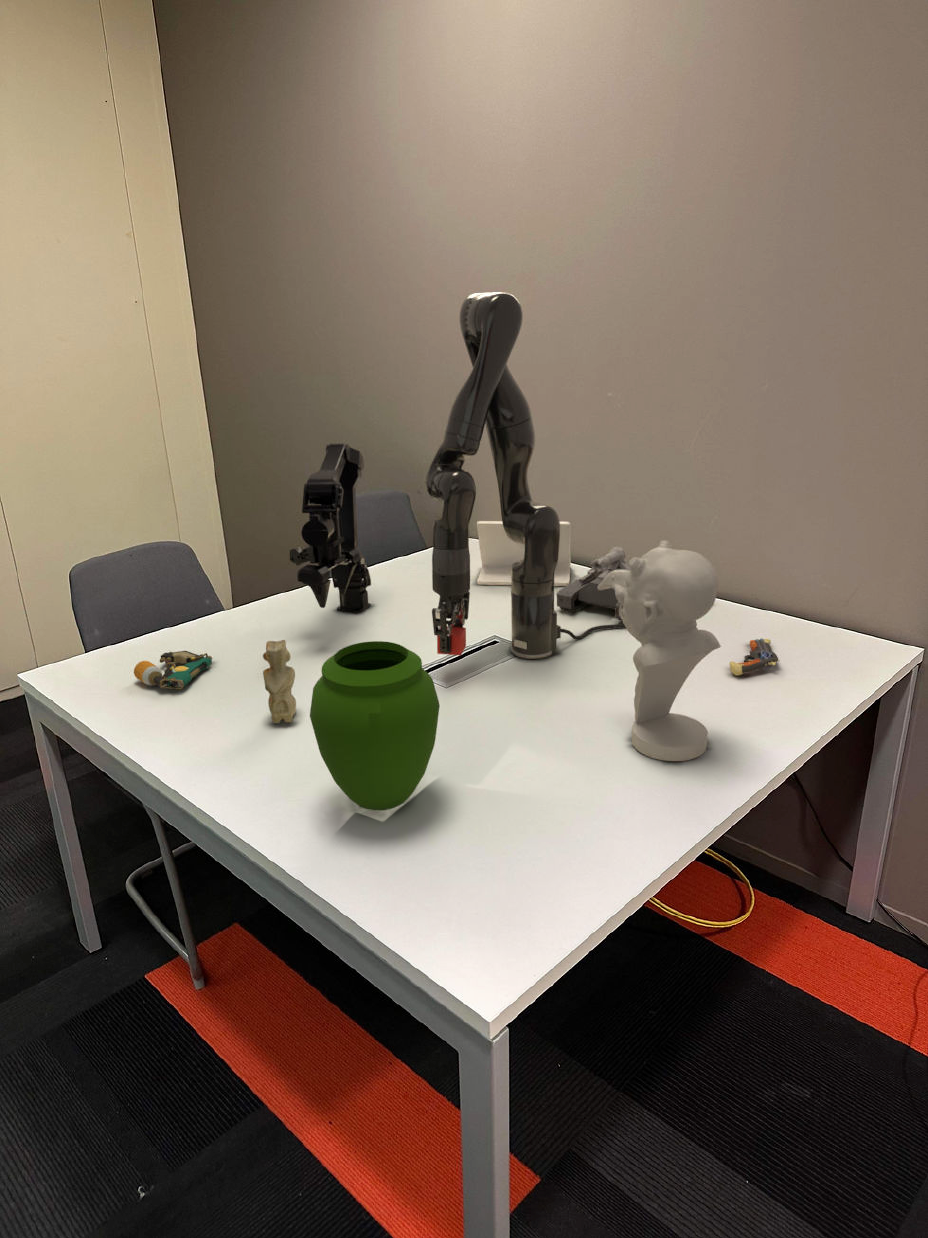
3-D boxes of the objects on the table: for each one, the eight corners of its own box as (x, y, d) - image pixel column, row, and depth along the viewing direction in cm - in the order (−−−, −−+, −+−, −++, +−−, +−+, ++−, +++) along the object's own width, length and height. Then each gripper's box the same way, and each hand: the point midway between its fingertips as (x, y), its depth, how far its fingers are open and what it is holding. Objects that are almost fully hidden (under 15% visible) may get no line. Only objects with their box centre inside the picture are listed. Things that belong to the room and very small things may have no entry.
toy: (603, 584, 229) (605, 530, 224) (673, 597, 218) (677, 540, 213) (555, 612, 210) (556, 553, 205) (630, 627, 199) (633, 566, 194)
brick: (466, 646, 177) (465, 627, 175) (460, 655, 172) (460, 636, 170) (443, 644, 178) (442, 625, 176) (437, 653, 173) (436, 634, 171)
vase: (466, 785, 137) (462, 645, 128) (393, 849, 122) (383, 694, 113) (371, 755, 147) (361, 623, 138) (292, 810, 132) (275, 665, 123)
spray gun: (177, 659, 191) (231, 671, 185) (120, 684, 176) (176, 698, 171) (176, 641, 190) (230, 653, 184) (118, 665, 175) (174, 678, 169)
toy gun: (731, 666, 171) (784, 663, 169) (722, 637, 189) (769, 634, 187) (732, 679, 172) (784, 676, 170) (722, 649, 190) (770, 646, 188)
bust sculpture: (641, 695, 165) (650, 519, 153) (732, 748, 145) (751, 550, 133) (573, 715, 158) (577, 532, 146) (659, 773, 138) (671, 567, 126)
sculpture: (301, 708, 164) (294, 636, 159) (296, 726, 158) (288, 651, 152) (271, 709, 164) (262, 637, 159) (265, 727, 158) (255, 652, 152)
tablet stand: (569, 585, 229) (570, 524, 223) (476, 584, 232) (475, 523, 226) (570, 566, 246) (571, 508, 240) (484, 564, 249) (483, 507, 243)
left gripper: (315, 522, 199) (321, 585, 205) (272, 543, 183) (279, 611, 189) (358, 524, 196) (363, 589, 201) (318, 546, 179) (324, 616, 185)
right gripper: (448, 557, 176) (449, 633, 182) (418, 575, 164) (420, 657, 170) (482, 560, 174) (481, 638, 179) (454, 579, 161) (454, 662, 167)
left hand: (332, 600), depth 194 cm, fingers open, 9 cm apart
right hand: (451, 647), depth 174 cm, fingers closed on brick, 5 cm apart
